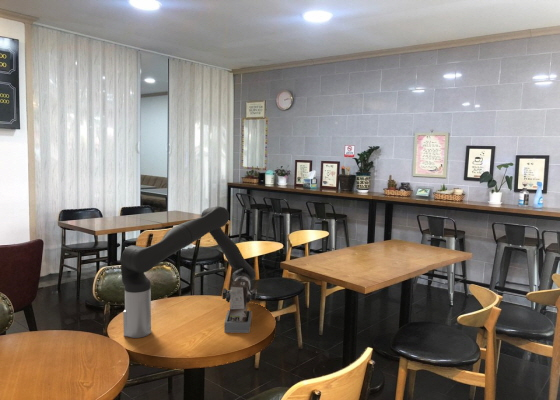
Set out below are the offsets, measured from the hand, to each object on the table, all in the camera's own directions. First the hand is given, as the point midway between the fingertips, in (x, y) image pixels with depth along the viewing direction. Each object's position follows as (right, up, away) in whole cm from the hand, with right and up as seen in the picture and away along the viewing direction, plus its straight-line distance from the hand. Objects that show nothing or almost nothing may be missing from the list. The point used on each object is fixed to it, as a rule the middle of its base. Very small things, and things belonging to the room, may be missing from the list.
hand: (238, 300), depth 171 cm
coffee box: (0, -10, +3) cm, 11 cm away
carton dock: (0, -11, +3) cm, 12 cm away
